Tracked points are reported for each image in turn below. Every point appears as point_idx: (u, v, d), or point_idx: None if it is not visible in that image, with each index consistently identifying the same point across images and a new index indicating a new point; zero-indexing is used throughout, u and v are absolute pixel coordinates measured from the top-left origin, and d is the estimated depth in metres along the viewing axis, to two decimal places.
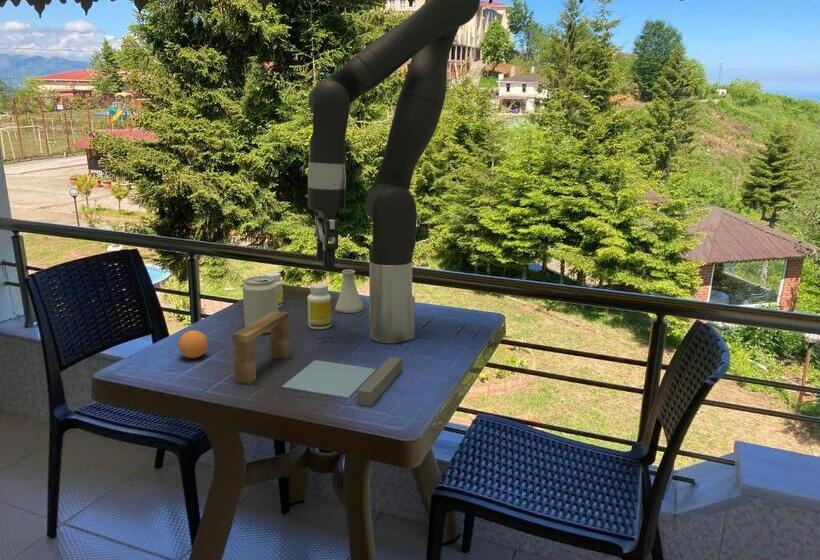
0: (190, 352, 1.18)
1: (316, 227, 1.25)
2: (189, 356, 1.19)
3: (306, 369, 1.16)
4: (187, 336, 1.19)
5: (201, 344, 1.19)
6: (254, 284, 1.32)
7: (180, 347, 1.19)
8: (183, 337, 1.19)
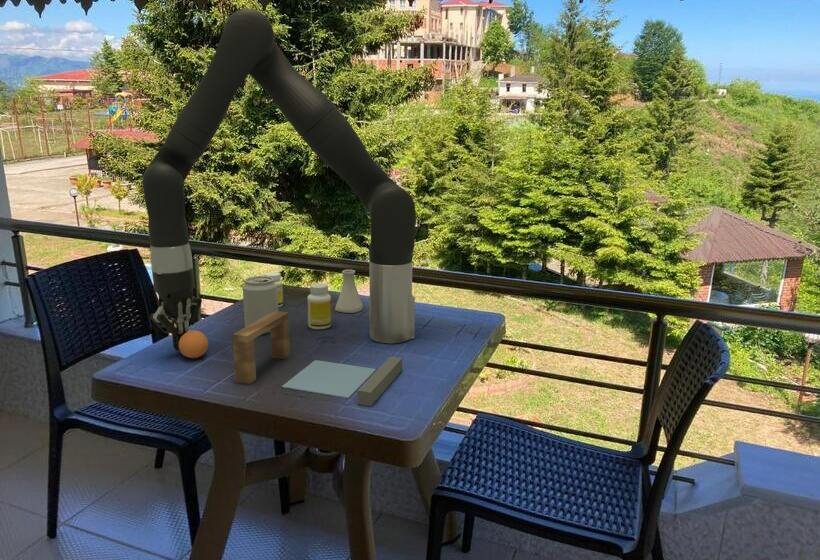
0: (190, 352, 1.18)
1: (182, 310, 1.20)
2: (189, 356, 1.19)
3: (306, 369, 1.16)
4: (187, 336, 1.19)
5: (201, 344, 1.19)
6: (254, 284, 1.32)
7: (180, 347, 1.19)
8: (183, 337, 1.19)
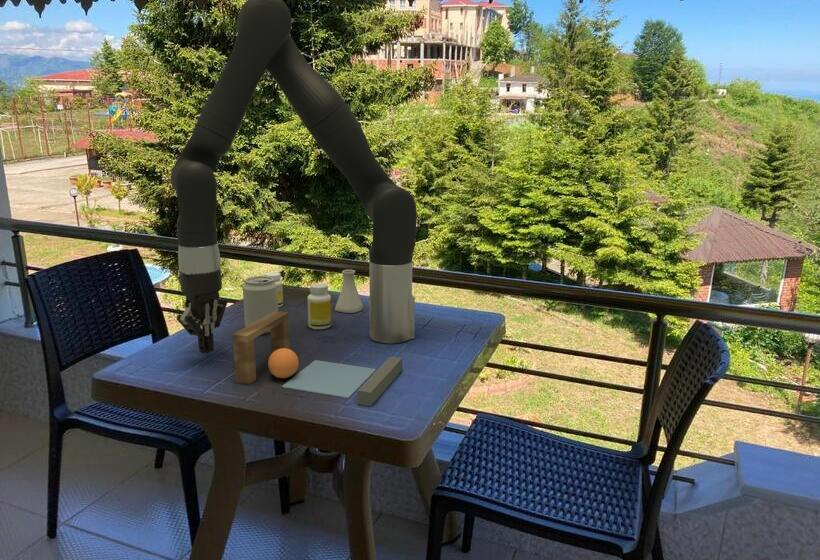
0: (274, 374, 1.10)
1: (209, 312, 1.17)
2: (270, 370, 1.11)
3: (306, 369, 1.16)
4: (288, 365, 1.10)
5: (287, 377, 1.12)
6: (254, 284, 1.32)
7: (274, 363, 1.09)
8: (285, 363, 1.09)
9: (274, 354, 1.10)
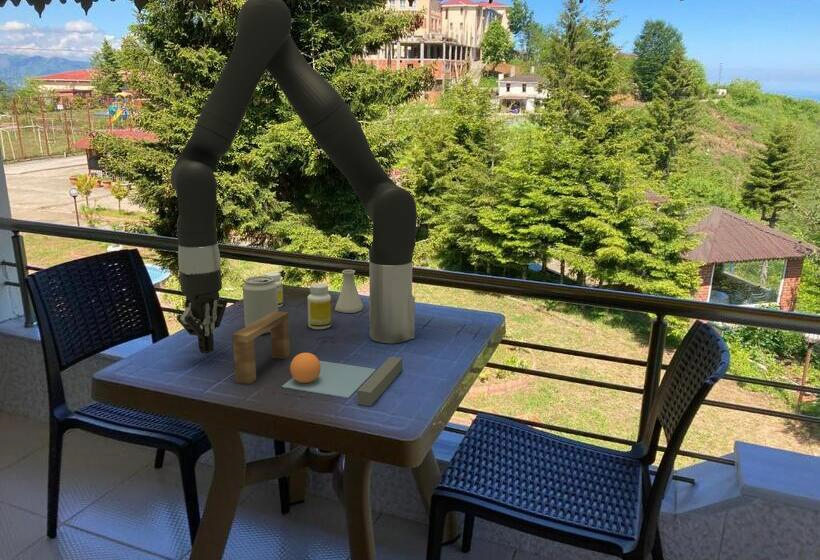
0: (291, 368, 1.08)
1: (209, 312, 1.17)
2: (295, 362, 1.08)
3: None
4: (301, 382, 1.09)
5: None
6: (254, 284, 1.32)
7: (300, 374, 1.07)
8: (303, 382, 1.09)
9: (310, 371, 1.08)
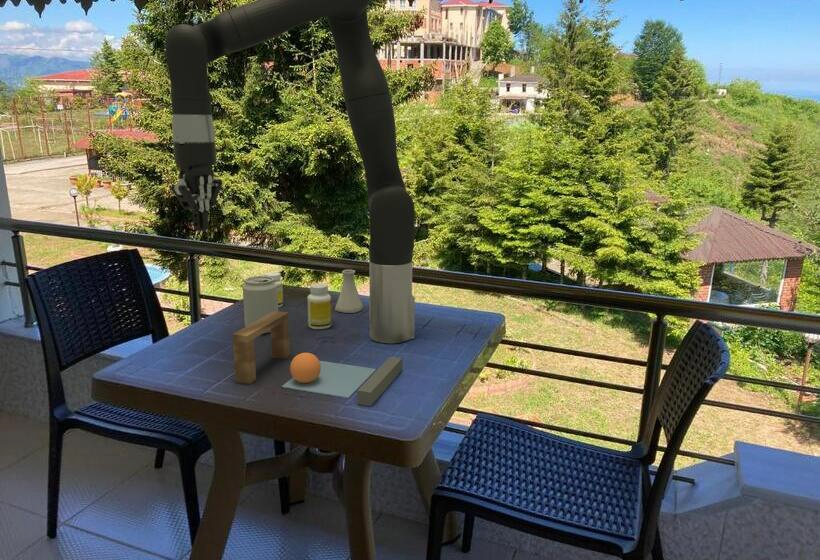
0: (291, 368, 1.08)
1: (203, 186, 1.16)
2: (295, 362, 1.08)
3: None
4: (301, 382, 1.09)
5: None
6: (254, 284, 1.32)
7: (300, 374, 1.07)
8: (303, 382, 1.09)
9: (310, 371, 1.08)
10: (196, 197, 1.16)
